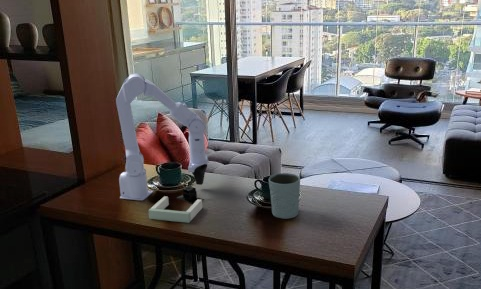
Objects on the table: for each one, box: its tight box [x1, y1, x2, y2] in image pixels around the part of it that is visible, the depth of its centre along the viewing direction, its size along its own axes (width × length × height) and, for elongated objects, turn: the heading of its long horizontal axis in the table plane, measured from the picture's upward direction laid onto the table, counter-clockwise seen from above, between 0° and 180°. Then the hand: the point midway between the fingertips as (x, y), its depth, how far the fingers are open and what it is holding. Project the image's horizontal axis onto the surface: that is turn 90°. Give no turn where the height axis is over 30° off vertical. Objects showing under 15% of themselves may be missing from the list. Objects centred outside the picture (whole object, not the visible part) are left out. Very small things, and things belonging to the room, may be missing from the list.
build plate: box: [175, 185, 205, 206], centre depth 166 cm, size 12×7×5 cm, turn 46°
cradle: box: [148, 195, 203, 224], centre depth 154 cm, size 14×12×3 cm
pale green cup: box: [268, 172, 301, 220], centre depth 150 cm, size 10×10×12 cm
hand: (199, 183), depth 174 cm, fingers closed
